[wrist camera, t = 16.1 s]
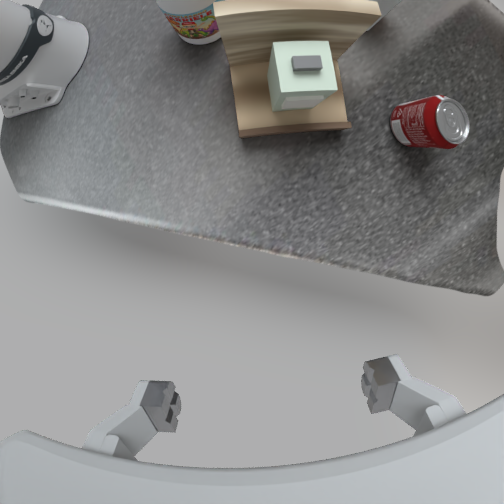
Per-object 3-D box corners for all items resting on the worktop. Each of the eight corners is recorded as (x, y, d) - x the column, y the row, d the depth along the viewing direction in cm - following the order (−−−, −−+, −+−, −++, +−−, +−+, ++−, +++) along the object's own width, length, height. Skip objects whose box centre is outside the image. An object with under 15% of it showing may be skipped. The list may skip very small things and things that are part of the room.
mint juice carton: (272, 114, 33) (282, 94, 20) (267, 75, 31) (273, 38, 19) (311, 111, 32) (341, 92, 20) (305, 73, 31) (331, 37, 18)
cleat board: (341, 130, 36) (403, 117, 19) (240, 138, 36) (229, 126, 20) (329, 56, 32) (377, 1, 15) (230, 62, 33) (213, 2, 16)
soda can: (394, 150, 36) (440, 153, 25) (382, 106, 34) (425, 95, 23) (428, 143, 36) (477, 145, 24) (417, 101, 34) (464, 92, 22)
